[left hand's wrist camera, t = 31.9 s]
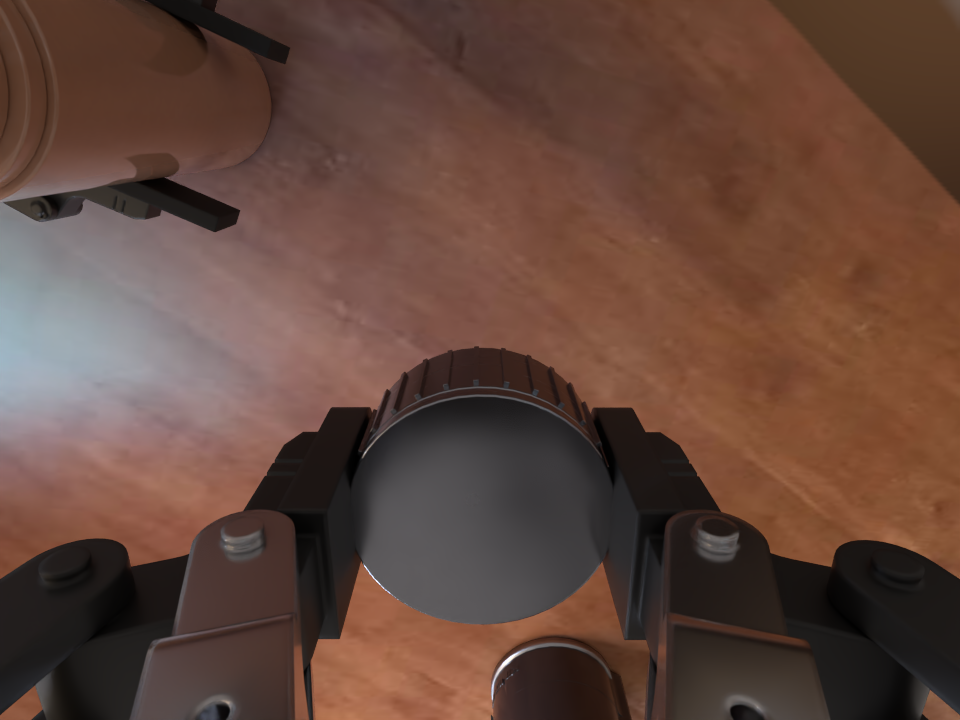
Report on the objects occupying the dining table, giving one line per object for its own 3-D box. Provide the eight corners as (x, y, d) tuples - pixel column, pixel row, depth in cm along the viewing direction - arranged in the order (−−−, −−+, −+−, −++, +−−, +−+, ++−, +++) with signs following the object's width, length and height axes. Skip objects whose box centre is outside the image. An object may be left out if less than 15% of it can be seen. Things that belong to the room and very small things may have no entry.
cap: (317, 438, 12) (284, 502, 10) (498, 294, 11) (502, 332, 9) (466, 584, 13) (464, 667, 11) (642, 466, 12) (674, 534, 10)
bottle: (156, -3, 32) (-613, -307, 10) (290, 63, 33) (-124, -73, 11) (122, 133, 35) (-560, 143, 12) (248, 191, 36) (-163, 299, 13)
